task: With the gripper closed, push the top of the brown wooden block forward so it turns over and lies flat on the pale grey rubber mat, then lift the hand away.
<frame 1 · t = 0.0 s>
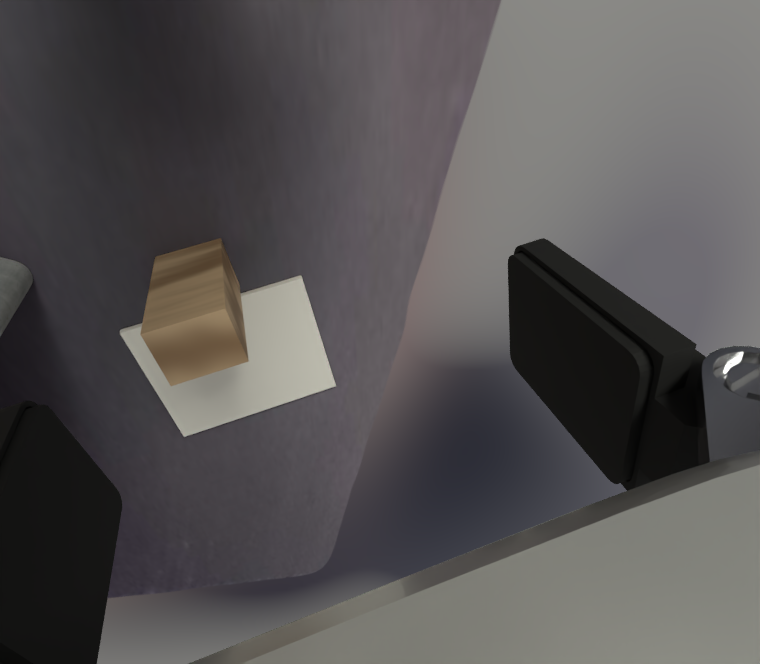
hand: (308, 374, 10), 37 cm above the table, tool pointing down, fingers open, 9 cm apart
mat: (239, 359, 53), on the table
brown wooden block: (198, 270, 46), on the table
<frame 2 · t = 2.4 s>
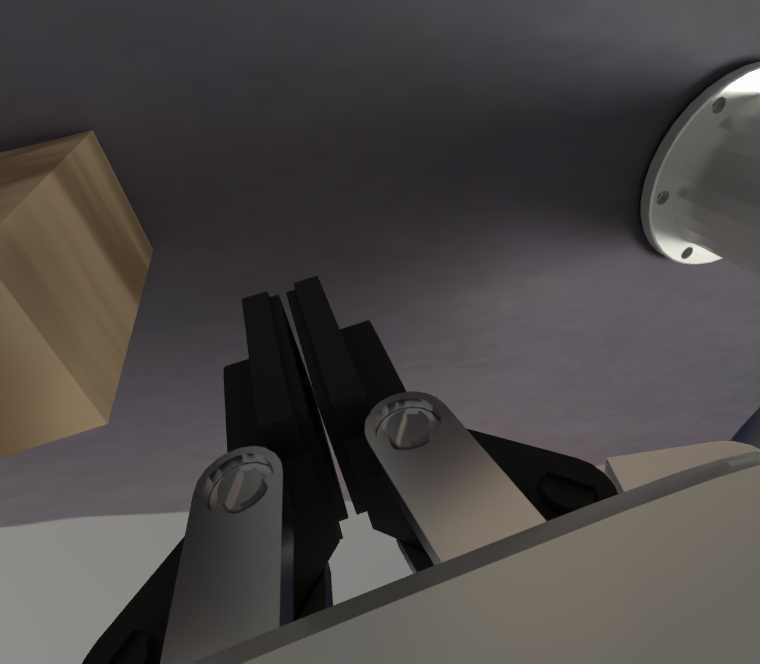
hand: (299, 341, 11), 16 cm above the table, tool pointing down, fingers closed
brown wooden block: (72, 208, 23), on the table
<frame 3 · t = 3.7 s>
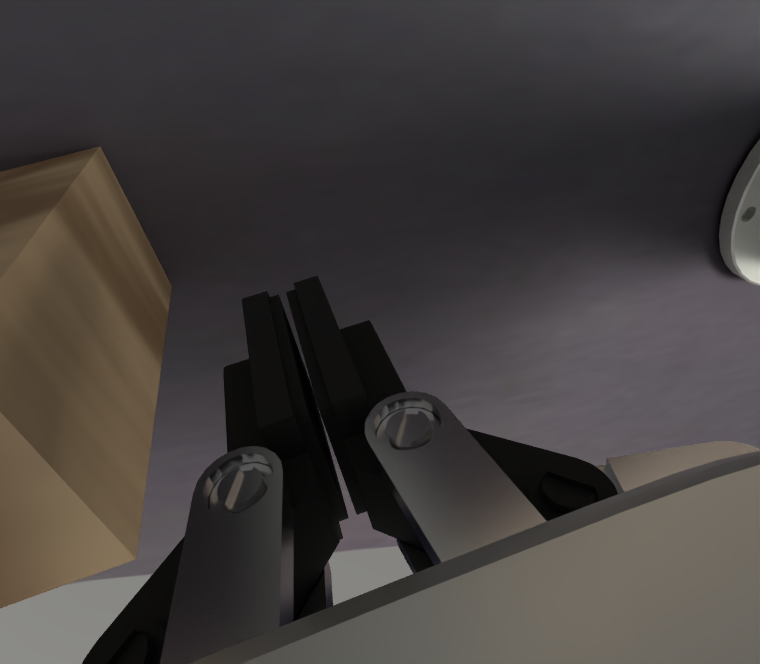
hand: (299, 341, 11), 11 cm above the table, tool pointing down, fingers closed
brown wooden block: (74, 240, 19), on the table
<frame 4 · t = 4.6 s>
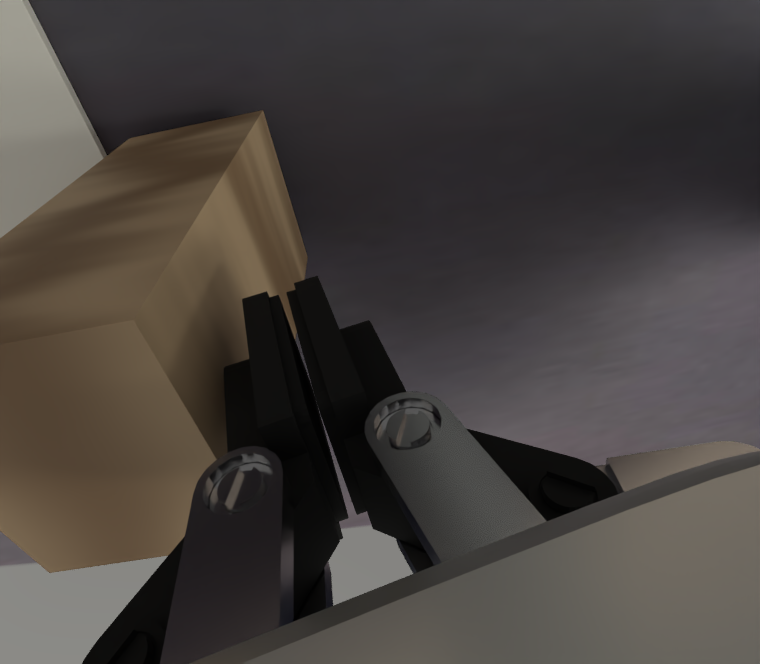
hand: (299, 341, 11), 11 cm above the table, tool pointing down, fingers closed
brown wooden block: (226, 202, 19), point 1 cm above the table, tilted 14°, touching gripper
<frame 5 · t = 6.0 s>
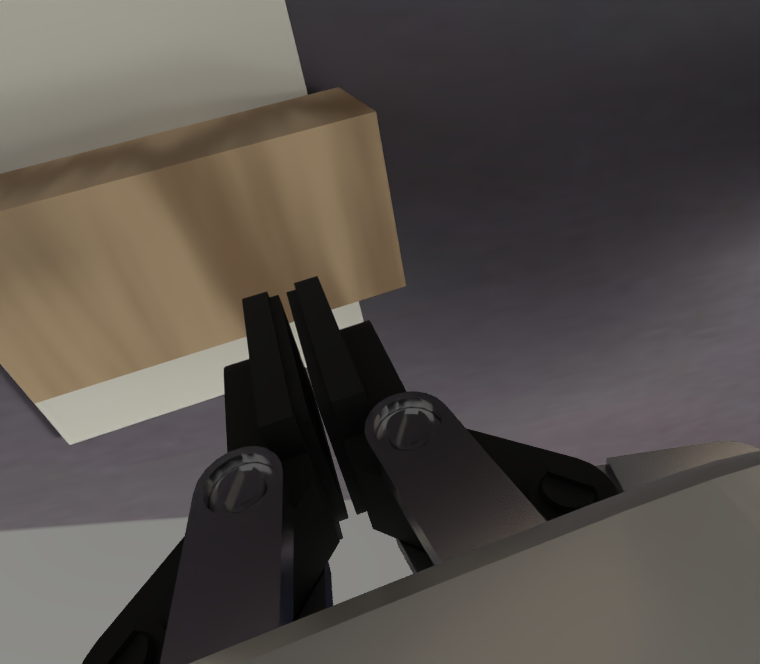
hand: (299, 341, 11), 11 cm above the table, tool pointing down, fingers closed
mat: (141, 221, 19), on the table
brown wooden block: (372, 185, 18), point 3 cm above the table, tilted 90°, touching mat
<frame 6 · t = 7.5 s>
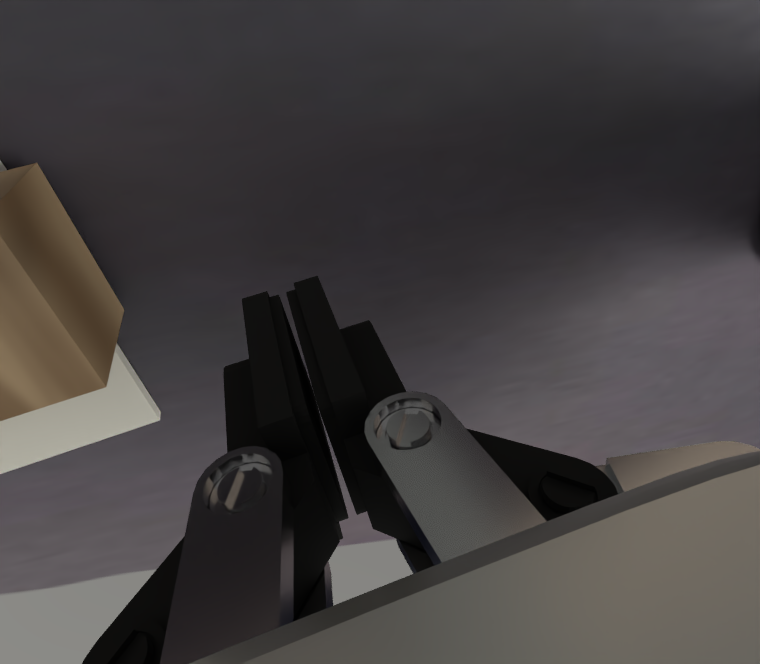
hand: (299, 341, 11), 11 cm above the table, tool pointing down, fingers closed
brown wooden block: (71, 273, 16), point 3 cm above the table, tilted 90°, touching mat
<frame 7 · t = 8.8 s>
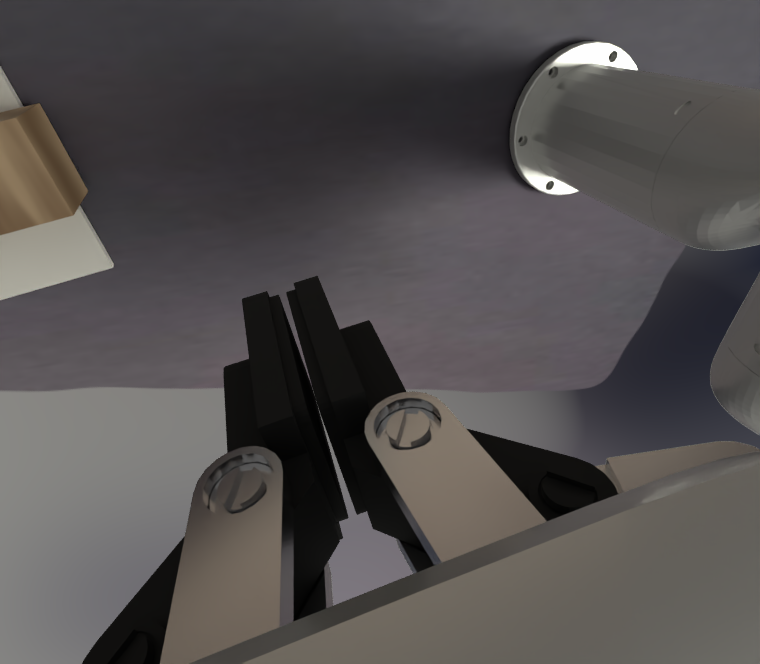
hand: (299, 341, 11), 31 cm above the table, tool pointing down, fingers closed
brown wooden block: (56, 158, 32), point 3 cm above the table, tilted 90°, touching mat
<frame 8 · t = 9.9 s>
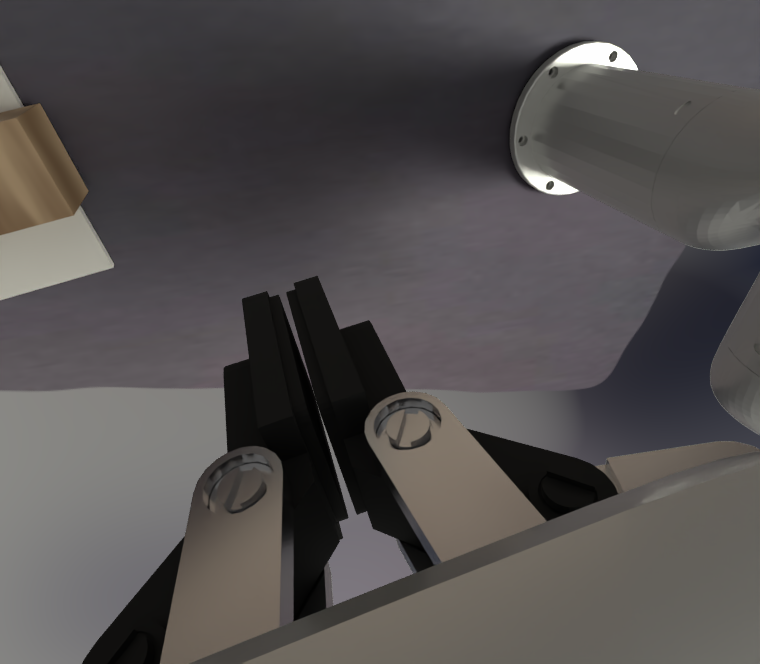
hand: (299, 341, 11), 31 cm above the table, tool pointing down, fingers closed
brown wooden block: (56, 158, 32), point 3 cm above the table, tilted 90°, touching mat
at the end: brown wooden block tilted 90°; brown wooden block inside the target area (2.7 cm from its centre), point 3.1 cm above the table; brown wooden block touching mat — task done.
